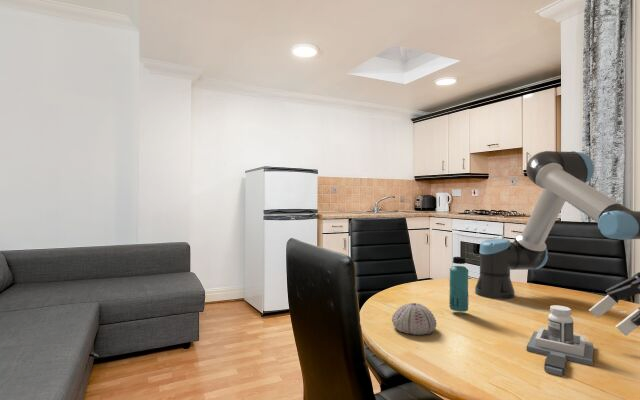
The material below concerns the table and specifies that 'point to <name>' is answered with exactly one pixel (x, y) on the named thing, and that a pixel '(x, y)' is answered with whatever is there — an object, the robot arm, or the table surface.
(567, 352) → the holder
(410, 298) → the table surface
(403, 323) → the sea urchin shell
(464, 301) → the beverage bottle
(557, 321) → the pill bottle
